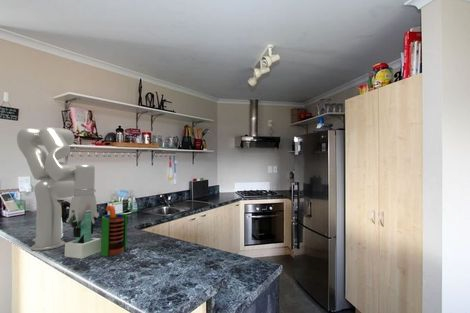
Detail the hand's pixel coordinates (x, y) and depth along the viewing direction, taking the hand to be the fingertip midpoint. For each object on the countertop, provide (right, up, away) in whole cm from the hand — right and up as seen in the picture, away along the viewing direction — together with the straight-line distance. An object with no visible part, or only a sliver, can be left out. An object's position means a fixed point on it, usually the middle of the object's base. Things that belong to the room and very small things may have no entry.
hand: (83, 234), depth 105 cm
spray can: (0, -7, 0) cm, 7 cm away
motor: (+12, -8, +1) cm, 15 cm away
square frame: (0, -8, 0) cm, 8 cm away
